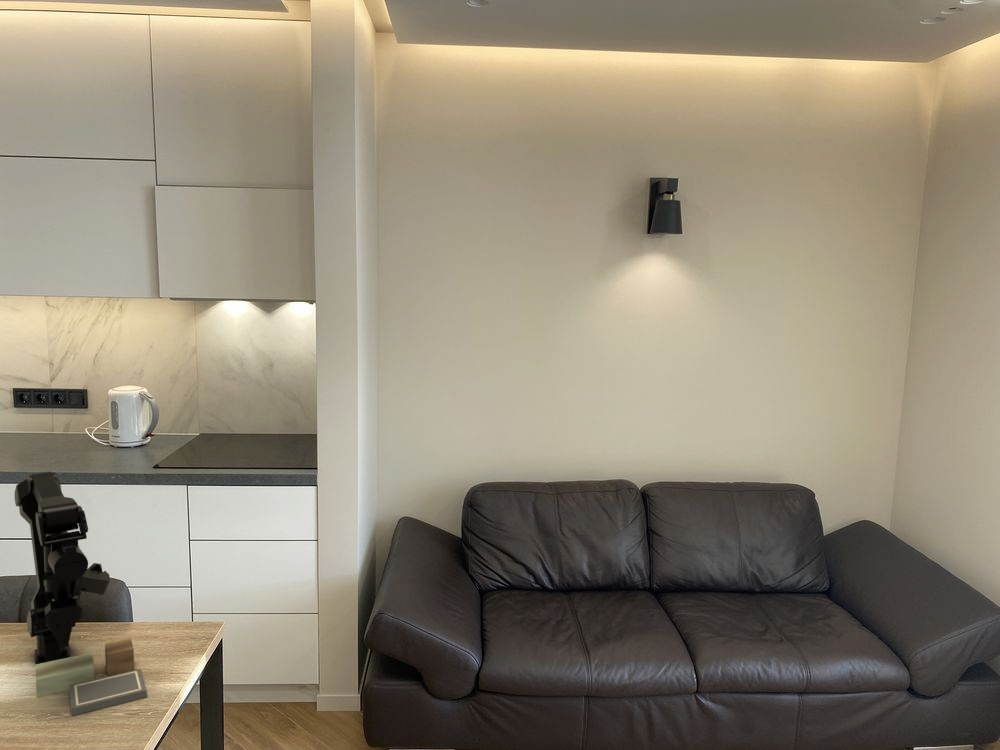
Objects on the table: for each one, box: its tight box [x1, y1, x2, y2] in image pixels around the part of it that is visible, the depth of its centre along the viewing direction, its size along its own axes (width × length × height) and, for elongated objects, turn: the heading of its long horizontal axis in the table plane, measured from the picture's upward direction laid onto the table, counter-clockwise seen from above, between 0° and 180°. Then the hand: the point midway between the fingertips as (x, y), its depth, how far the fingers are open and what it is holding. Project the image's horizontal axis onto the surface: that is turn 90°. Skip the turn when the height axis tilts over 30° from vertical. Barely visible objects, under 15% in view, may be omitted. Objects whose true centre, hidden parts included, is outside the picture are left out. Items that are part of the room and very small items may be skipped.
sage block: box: [35, 652, 95, 698], centre depth 147 cm, size 6×10×4 cm, turn 123°
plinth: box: [68, 668, 148, 717], centre depth 143 cm, size 9×13×2 cm
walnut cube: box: [104, 638, 135, 677], centre depth 153 cm, size 5×5×5 cm
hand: (63, 636), depth 146 cm, fingers open, 9 cm apart
